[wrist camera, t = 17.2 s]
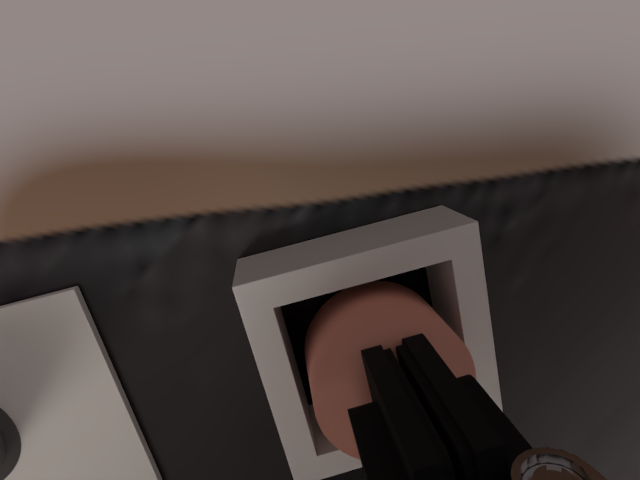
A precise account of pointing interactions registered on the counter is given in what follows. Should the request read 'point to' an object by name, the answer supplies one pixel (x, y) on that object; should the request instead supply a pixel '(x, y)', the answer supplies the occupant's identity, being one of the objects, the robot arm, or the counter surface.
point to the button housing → (347, 271)
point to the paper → (64, 397)
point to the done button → (361, 333)
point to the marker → (2, 447)
